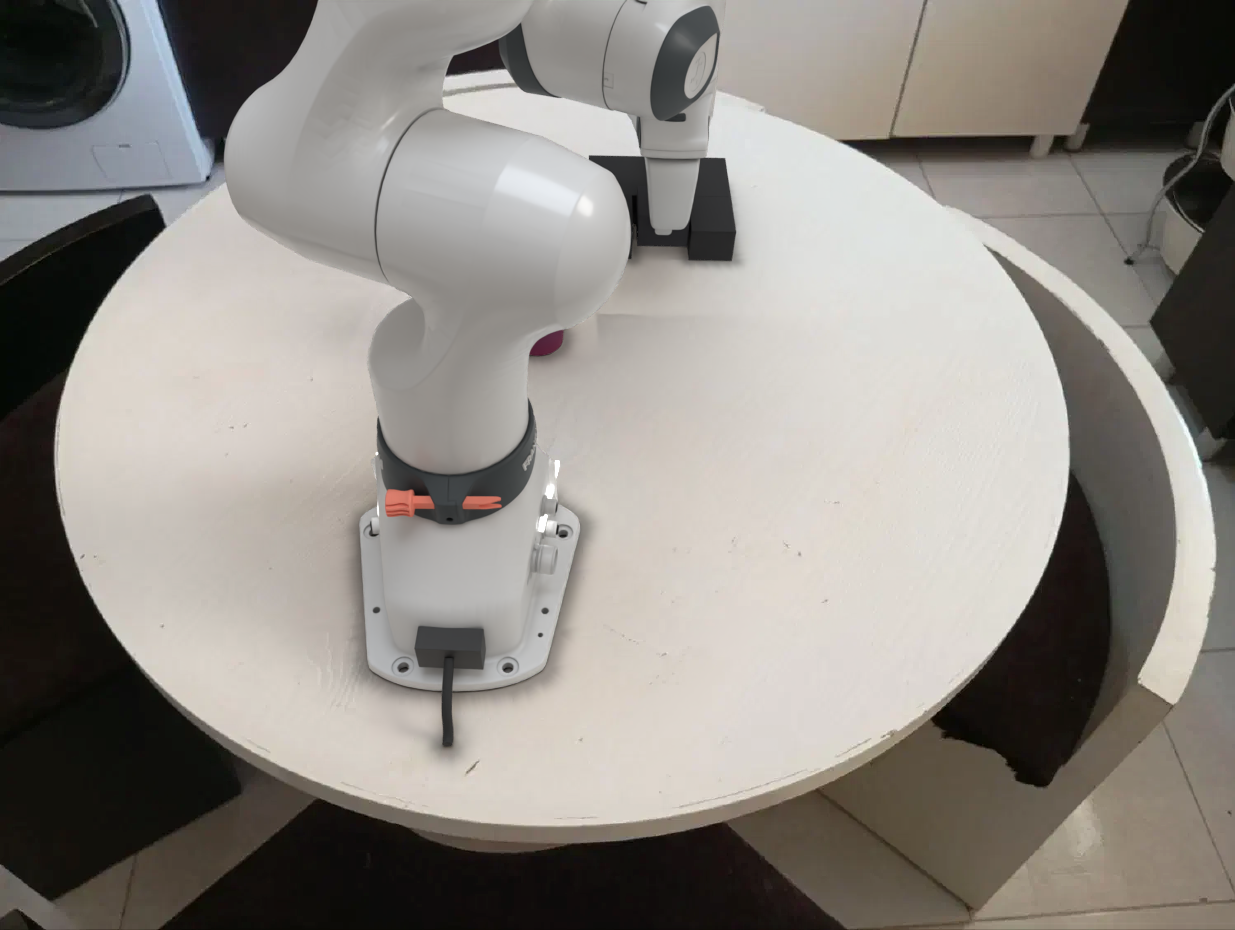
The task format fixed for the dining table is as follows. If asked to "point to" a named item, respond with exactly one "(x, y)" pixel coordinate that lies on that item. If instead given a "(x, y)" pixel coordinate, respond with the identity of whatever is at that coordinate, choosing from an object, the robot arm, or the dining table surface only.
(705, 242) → the big black u-shaped block
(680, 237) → the small cube
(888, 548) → the dining table surface
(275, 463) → the dining table surface
